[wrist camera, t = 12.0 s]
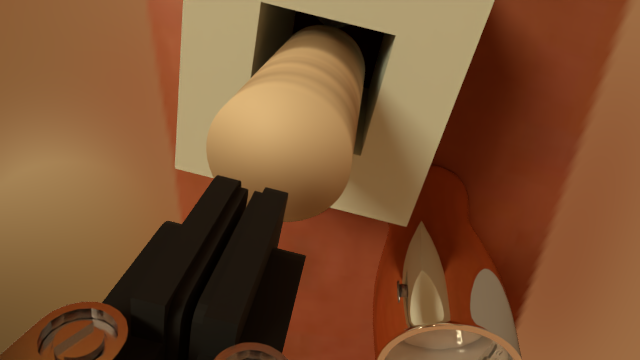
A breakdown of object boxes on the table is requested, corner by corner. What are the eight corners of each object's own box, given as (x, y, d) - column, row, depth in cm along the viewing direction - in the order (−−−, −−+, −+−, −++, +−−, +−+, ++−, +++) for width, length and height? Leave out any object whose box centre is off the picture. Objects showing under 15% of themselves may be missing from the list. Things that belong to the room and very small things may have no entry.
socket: (257, -98, 25) (188, -110, 16) (465, -46, 25) (506, -32, 16) (234, 101, 31) (174, 168, 22) (401, 143, 31) (406, 226, 22)
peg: (286, 15, 20) (213, 70, 12) (375, 37, 20) (368, 109, 12) (271, 100, 23) (200, 202, 14) (353, 120, 22) (333, 236, 14)
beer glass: (490, 174, 31) (562, 348, 18) (451, 248, 35) (488, 439, 22) (394, 146, 31) (399, 302, 18) (365, 224, 35) (351, 401, 22)
